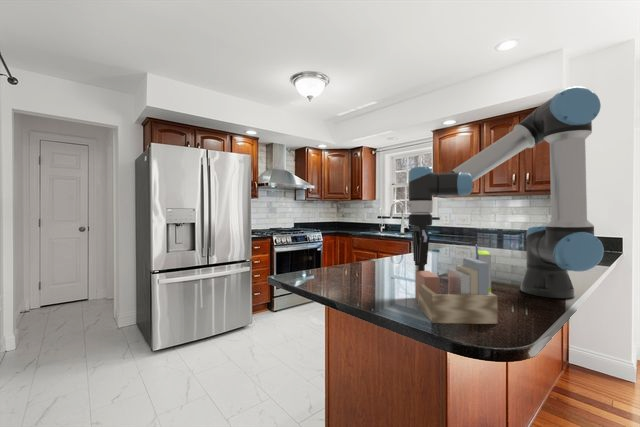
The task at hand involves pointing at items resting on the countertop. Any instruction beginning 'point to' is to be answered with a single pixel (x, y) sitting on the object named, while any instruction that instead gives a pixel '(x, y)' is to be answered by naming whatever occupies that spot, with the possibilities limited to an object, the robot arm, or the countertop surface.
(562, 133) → the robot arm
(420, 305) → the wooden crate
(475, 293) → the shelved books
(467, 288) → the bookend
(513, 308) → the countertop surface
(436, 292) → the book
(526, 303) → the countertop surface
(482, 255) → the box
